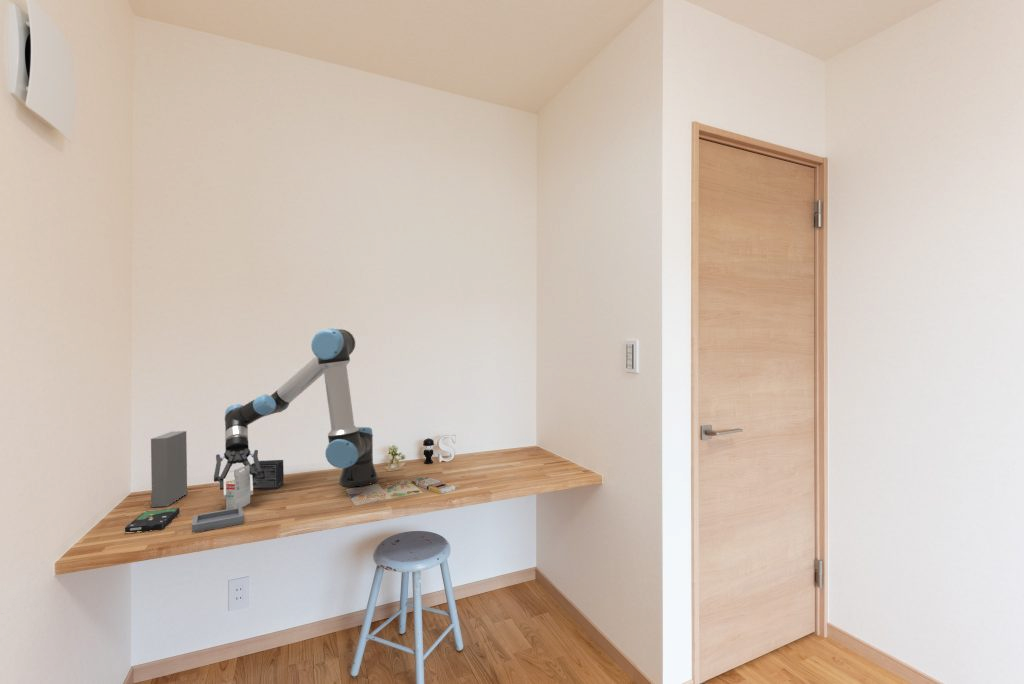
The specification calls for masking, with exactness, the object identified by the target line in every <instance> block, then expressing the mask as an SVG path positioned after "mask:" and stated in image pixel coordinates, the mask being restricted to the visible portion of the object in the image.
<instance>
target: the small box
mask: <svg viewBox="0 0 1024 684" xmlns="http://www.w3.org/2000/svg"><path fill="white" fill-rule="evenodd" d="M250 464H251V466H252V467H253V469H254V471H256V468H255V464H254V462H253V463H250ZM259 464H260V468H261V475H260V476H256V485H253V489H258V490H274V489H275V490H277V489H279V488H281V487H282V486H283V485H285V482H284V479H285V477H284V476H285V474H284V459H273V460H269V459H267V460H259ZM280 486H281V487H280Z"/></svg>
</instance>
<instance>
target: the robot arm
mask: <svg viewBox="0 0 1024 684" xmlns="http://www.w3.org/2000/svg"><path fill="white" fill-rule="evenodd" d="M310 346H311V351H312V352H313V354H314V355H315V356H314V357H313V358H312V359H311V360H309V362H307V363H306V364H305V365H304V366H302V368H300V369H299V370H298V371H297V372H295V374H294V375H292V377H290V378H289V379H288V380H286V382H284V383H283V384H282V385H281V386H280V387H279V388H278V389H276V390H275V392H273V393H271V394H270V395H269V394H266V393H265V394H262V395H260V396H257V397H255V399H253V400H251V401H249V402H248V403H246V404H244V405H243V404H240V403H239V404H233V405H232V404H231V405H230V406H228V407H226V410H225V413H224V425H225V433H224V435H225V436H224V437H225V439H224V441H225V446H224V447H225V452H224V453H223V454H219V453H218V454H216V455H215V461H216V464H215V468H214V473H213V482H214V483H216V482H218V483H219V490H220V491H223V500H226V484H227V478H226V477H227V476H228V474H229V471H230V469H231V468H232V466H233V464H234V465H235V464H243V465H244V466H247V465H249V467H250V496H252V495H253V494H254V490H253V485H256V476H260V475H261V468H260V464H259V461H260V460H259V456H258V455H259V451H258V449H255V450H253V451H252V450H250V449H249V432H248V430H249V429H248V425H251V424H252V423H254V422H256V421H257V420H260V419H262V418H264V417H267V416H270V415H273V414H277V413H281V412H284V411H285V410H287V409H288V407H289V406H290V403H291V402H293V401H294V400H295V399H296V398H297V397H298V396H300V395H301V394H302V393H303V392H304V391H305V390H306V389H308V388H309V387H310V386H311V385H312V384H313V383H315V382H316V381H317V380H318V379H319V378H321V377H322V376H324V383H325V392H326V399H327V400H326V401H327V405H328V413H329V421H330V431H329V432H328V434H327V440H328V444H327V446H326V448H325V458H326V460H327V462H328V463H329V464H330V465H331V466H332V467H334V468H337V469H341V473H340V476H339V485H340V486H341V485H342V487H345V488H346V487H347V488H356V487H355V486H361V487H363V486H362V485H366V484H370V483H373V484H375V483H376V482H377V481H378V473H377V470H376V467H375V464H374V458H373V453H374V452H373V451H374V449H373V448H374V447H373V444H374V443H373V441H374V440H373V439H374V438H373V437H374V435H373V429H372V428H371V427H367V426H363V427H361V426H360V427H359V426H358V427H357V426H356V425H355V419H354V414H353V413H354V411H353V407H352V406H353V404H352V397H351V390H350V389H351V388H350V385H349V384H350V383H349V374H348V368H347V367H348V364H349V363H350V362H351V358H350V357H351V356H350V355H351V354H352V353H353V352H354V350H355V347H356V340H355V336H353V334H352V333H351V332H350V331H348V330H346V329H342V328H341V329H337V328H325V329H322V330H319V331H318V332H316V334H315V335H314V336H313V338H312V340H311V344H310ZM249 456H251V458H253V463H254V464H255V468H256V471H254V469H253V467H252V466H251V464H252V463H251V462H250V461H249V459H248V457H249ZM224 459H225V460H227V462H226V465H225V466H224V468H223V471H221V474H220V470H221V465H222V462H223V461H224ZM374 482H375V483H374ZM370 485H371V484H370ZM366 486H367V485H366Z"/></svg>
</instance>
